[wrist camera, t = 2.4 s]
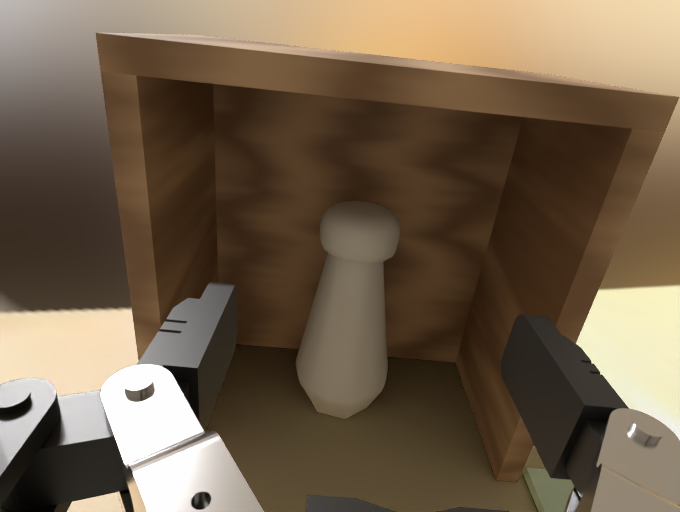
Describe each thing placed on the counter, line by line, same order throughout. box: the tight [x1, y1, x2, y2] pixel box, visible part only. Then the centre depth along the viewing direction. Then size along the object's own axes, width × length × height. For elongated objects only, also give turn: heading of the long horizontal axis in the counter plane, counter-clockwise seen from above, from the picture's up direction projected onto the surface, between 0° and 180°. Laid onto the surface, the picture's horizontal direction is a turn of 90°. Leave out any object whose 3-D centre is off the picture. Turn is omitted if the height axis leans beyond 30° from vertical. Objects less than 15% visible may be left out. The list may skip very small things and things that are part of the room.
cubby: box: [96, 33, 679, 482], centre depth 24 cm, size 20×11×20 cm, turn 90°
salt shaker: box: [296, 201, 400, 419], centre depth 26 cm, size 6×6×13 cm
